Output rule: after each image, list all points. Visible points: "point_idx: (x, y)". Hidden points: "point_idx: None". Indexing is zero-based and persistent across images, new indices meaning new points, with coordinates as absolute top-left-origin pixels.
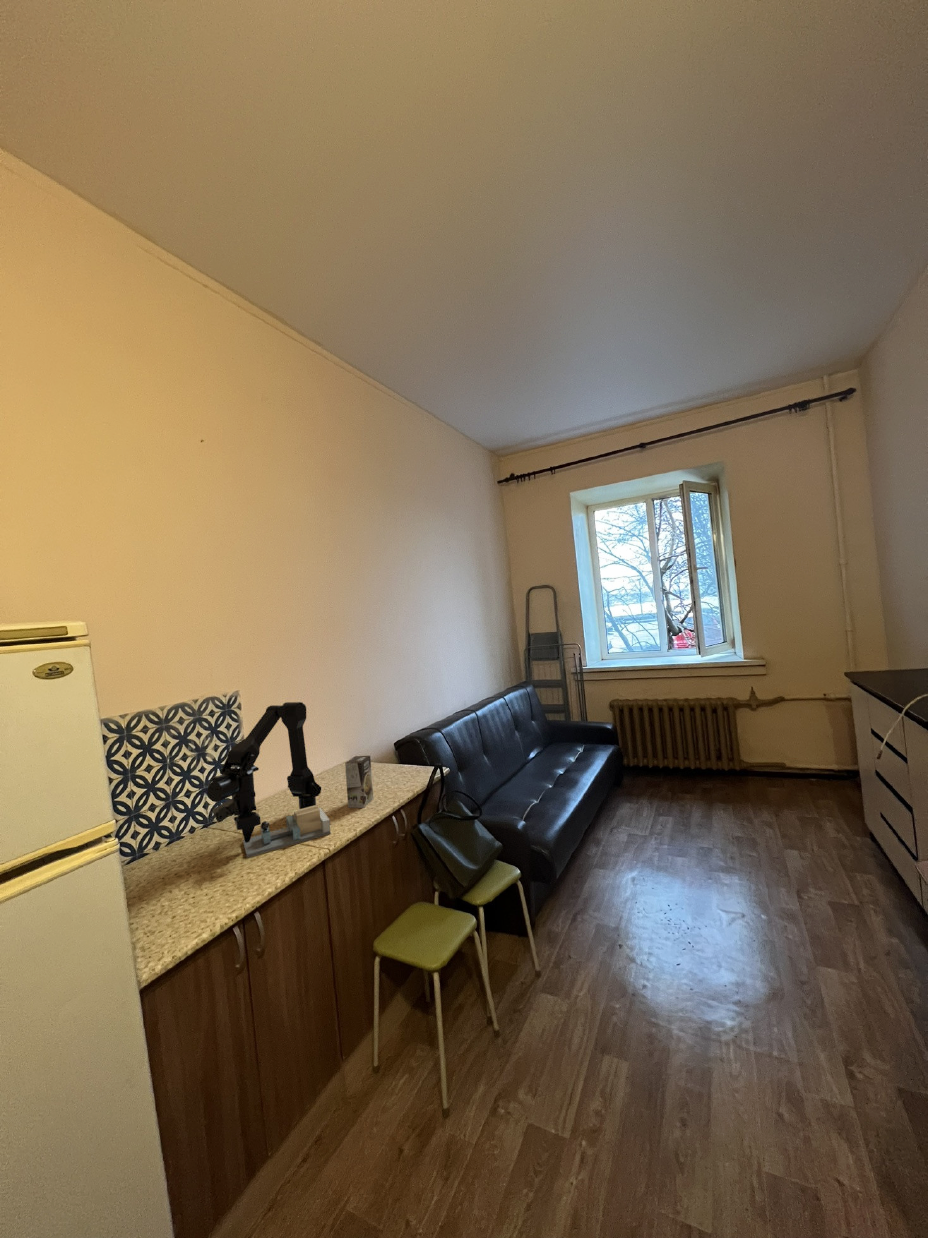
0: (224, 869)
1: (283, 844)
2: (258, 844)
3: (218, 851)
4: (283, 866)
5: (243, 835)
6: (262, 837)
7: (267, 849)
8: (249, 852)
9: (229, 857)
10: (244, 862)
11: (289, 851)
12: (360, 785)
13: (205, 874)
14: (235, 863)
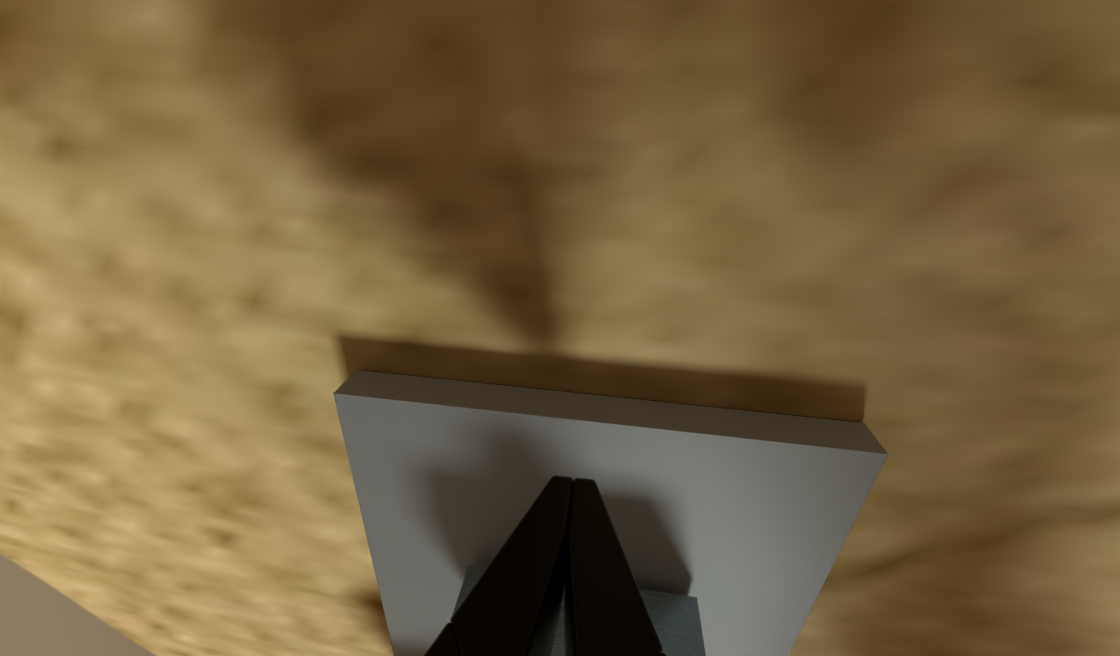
0: (157, 89)
1: (391, 639)
2: None
3: (927, 67)
4: (70, 526)
5: (481, 581)
6: (561, 625)
7: (375, 546)
8: (376, 425)
9: (516, 203)
10: (262, 328)
11: (310, 611)
12: None
13: None
14: (281, 242)
